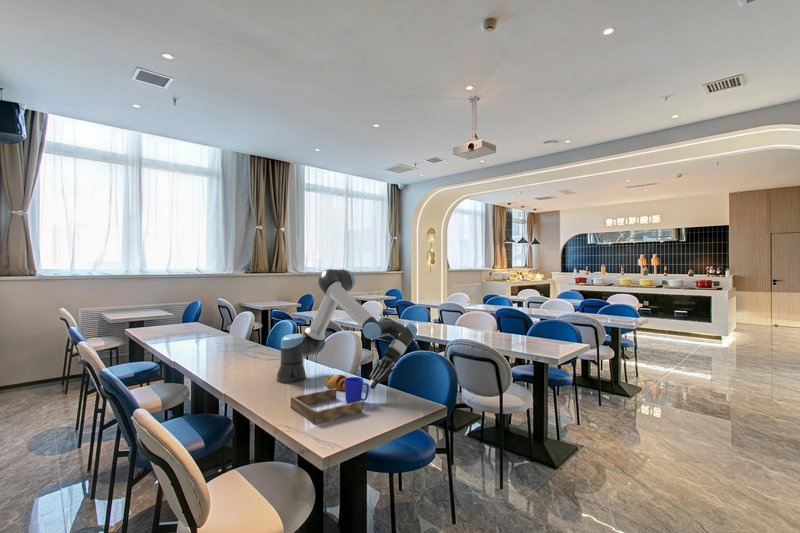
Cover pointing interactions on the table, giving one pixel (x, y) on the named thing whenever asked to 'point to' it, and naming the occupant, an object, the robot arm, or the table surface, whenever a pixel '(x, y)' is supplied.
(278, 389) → the table surface
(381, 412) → the table surface
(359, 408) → the box
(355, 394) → the mug
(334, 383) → the croissant
